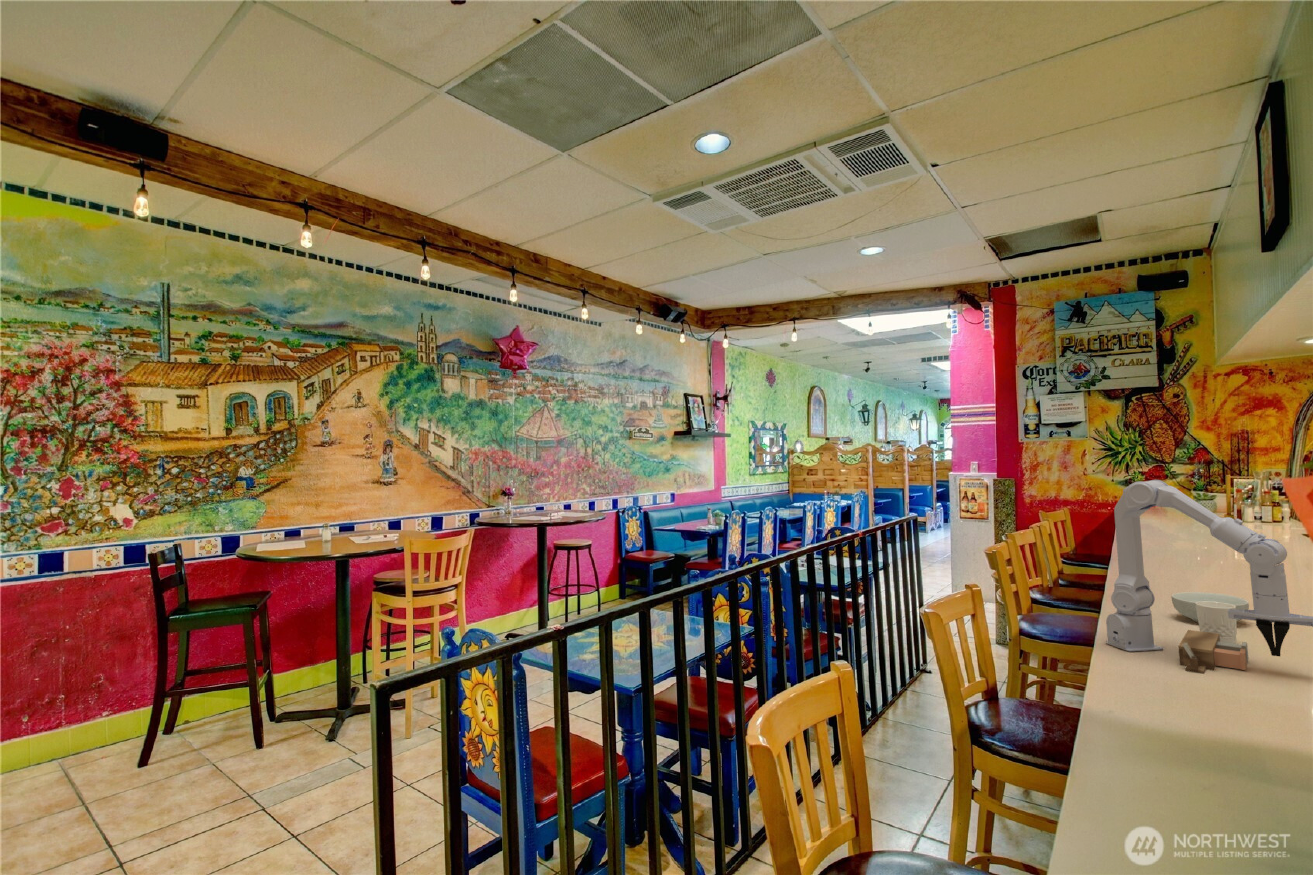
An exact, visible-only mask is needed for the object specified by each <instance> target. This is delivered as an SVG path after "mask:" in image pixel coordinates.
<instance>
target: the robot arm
mask: <svg viewBox="0 0 1313 875" xmlns="http://www.w3.org/2000/svg"><path fill="white" fill-rule="evenodd" d="M1153 507H1160V508H1171V509H1175V510H1177V511H1178V512H1181V513H1183V514H1184V515H1186V516H1187V517H1190V518H1191V519H1193V520H1195V521H1196V522H1198V523H1200V524H1202V525H1204V526H1205V527H1207V528H1208V529H1209V532H1210V536H1212V537H1214V538H1215V539H1216V540H1218V541H1219V542H1221V543H1223V544H1225V545H1226V546H1228V547H1229V548H1231V549H1233V550H1234V551H1236V552H1237V553H1239V554H1242V555H1243V558H1244V560H1245V561H1246V562H1247V563H1249V564H1248V565H1249V570H1250V573H1249V575H1250V585H1251V595H1252V606H1253V609H1248V610H1239V609H1228V618H1229V619H1241V620H1244V621H1245V620H1246V621H1255V625H1256V627H1257V628H1258V631H1260V633H1261V634H1262V636H1263V638H1264V640H1265V641H1266V643H1267V645H1268V648H1269V652H1270V655H1271V656H1272V657H1273V656H1274V657H1281V649H1282V645H1283V643H1284V641H1285V640H1284V639H1285V638H1286V636H1287V633H1288V632H1289V630H1290V626H1291V625H1294V626H1297V625H1298V626H1304V627H1312V628H1313V616H1310V615H1304V614H1296V613H1290V605H1289V604H1290V603H1289V596H1288V586H1287V584H1288V583H1287V576H1286V572H1285V564H1284V563H1283V562H1285V560H1286V559H1287V556H1288V552H1287V549H1286V547H1285V546H1284V545H1283V544H1281V542H1279V541H1278V540H1276V539H1273V538H1267V536H1266V535H1265V534H1264V533H1258V532H1256V531H1254V530H1252V529H1251V528H1249V527H1248V526H1246V525H1245V524H1243V523H1244V521H1243V520H1242V519H1240V518H1235V519H1234V518H1232V517H1229V516H1227V517H1220V516H1219V515H1217V514H1216V513H1215V512H1212V511H1211V510H1209V508H1206V507H1205V506H1203V505H1201V504H1200V503H1199V502H1197V501H1196V500H1194V499H1192V498H1191V497H1189V496H1188V495H1186V494H1185V493H1184V492H1182V491H1180V490H1179V489H1178V488H1177V487H1175V486H1172V485H1168V484H1167V483H1166V482H1164V481H1162V480H1160V479H1152V480H1146V481H1141V480H1140V481H1135V482H1132V483H1131V484H1129V485H1128V486H1127V487H1125V488H1123V489H1122V495H1121V496H1120V498H1119V500H1118V501H1117V502H1116V504H1115V506H1114V511H1113V512H1114V514H1113V515H1114V524H1115V526H1114V527H1115V537H1116V539H1115V540H1116V551H1117V564H1118V565H1117V566H1118V576H1117V578H1116V579H1115V582H1114V584H1113V585H1114V589H1113V592H1112V594H1111V595H1110V596H1111V597H1110V600H1111V604H1112V605H1113V607H1114V608H1115V609H1116V611H1115V612H1114V613H1110V614H1108V615H1107V617H1106V635H1107V641H1106V640H1105V644H1107V645H1110V646H1112V647H1115V648H1118V649H1121V650H1123V651H1126V652H1142V651H1143V652H1144V651H1145V652H1146V651H1160V650H1162V651H1163V650H1164V649H1165V648H1164V647H1163V646H1159V645H1156V644H1155V640H1154V628H1153V626H1154V625H1153V616H1152V611H1151V607H1152V606H1153V605H1154V603H1155V598H1156V597H1155V594H1154V592H1153V591H1152V588H1151V587H1150V581H1149V580H1148V579H1147V577H1146V576H1145V566H1144V555H1143V553H1144V552H1143V541H1142V530H1141V516H1142V515H1143V514H1144V513H1145V512H1147V511H1149V510H1150V509H1151V508H1153Z"/></svg>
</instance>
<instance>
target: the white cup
mask: <svg viewBox="0 0 1313 875" xmlns="http://www.w3.org/2000/svg"><path fill="white" fill-rule="evenodd" d="M1228 609H1236V606H1235V605H1232V604H1228V603H1221V602H1209V601H1203V602H1196V610H1197V617H1198V622H1197V623H1198V626H1199V631H1202V632H1210V633H1218V634H1220V642H1226V643H1234V644H1237V631H1238V630H1237V628H1238V626H1237V624H1238V623H1237V622H1238V621H1236V619H1229V618H1228Z"/></svg>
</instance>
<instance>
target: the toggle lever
mask: <svg viewBox="0 0 1313 875" xmlns="http://www.w3.org/2000/svg"><path fill="white" fill-rule="evenodd" d="M1182 645H1183V647H1184V648H1185V650H1186V652H1187V653H1188V655H1189V656H1190V658H1194V659H1197V662H1198V660H1199V659H1198V658H1197V657H1196V656H1195V654H1194V653H1193V651H1192V650H1191V648H1190V647H1189V645H1188V643H1183V644H1182Z"/></svg>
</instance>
